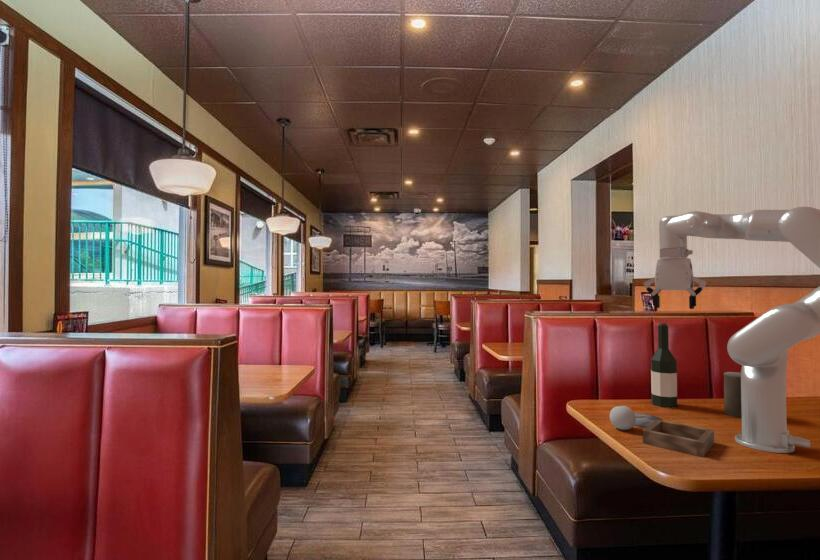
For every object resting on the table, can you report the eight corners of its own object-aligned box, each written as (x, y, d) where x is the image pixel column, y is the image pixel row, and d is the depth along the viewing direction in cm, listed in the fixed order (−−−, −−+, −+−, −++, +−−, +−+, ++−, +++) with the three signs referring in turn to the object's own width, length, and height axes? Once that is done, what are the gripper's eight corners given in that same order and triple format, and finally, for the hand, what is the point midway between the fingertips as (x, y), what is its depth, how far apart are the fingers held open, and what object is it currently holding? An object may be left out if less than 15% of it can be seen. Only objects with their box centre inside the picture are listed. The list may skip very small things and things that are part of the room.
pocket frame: (714, 442, 118) (713, 430, 118) (703, 457, 108) (703, 443, 108) (657, 431, 128) (657, 419, 128) (642, 443, 118) (642, 430, 118)
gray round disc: (669, 420, 138) (669, 418, 138) (657, 431, 128) (657, 428, 128) (623, 412, 147) (623, 409, 148) (608, 421, 137) (608, 418, 137)
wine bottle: (682, 409, 151) (681, 324, 152) (659, 409, 151) (657, 324, 152) (669, 402, 160) (667, 322, 160) (646, 402, 160) (645, 322, 160)
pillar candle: (746, 420, 138) (745, 374, 138) (717, 412, 147) (716, 368, 148) (768, 418, 140) (767, 372, 141) (738, 410, 150) (737, 367, 150)
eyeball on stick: (651, 402, 134) (622, 403, 126) (659, 426, 131) (629, 429, 123) (630, 406, 139) (601, 407, 132) (637, 429, 136) (608, 432, 129)
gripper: (708, 253, 134) (708, 308, 133) (646, 256, 146) (647, 307, 145) (703, 252, 128) (704, 309, 128) (640, 255, 140) (640, 307, 140)
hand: (674, 308), depth 136 cm, fingers open, 9 cm apart
